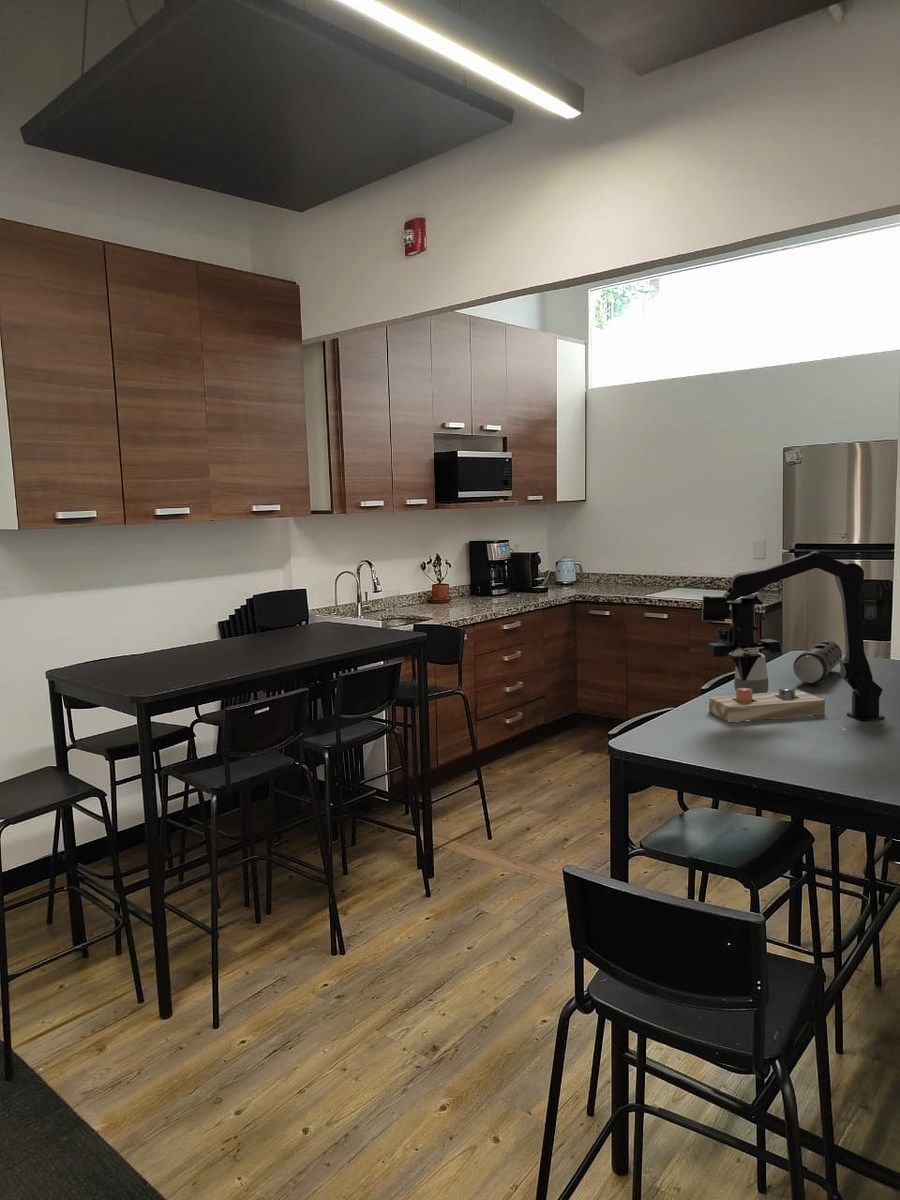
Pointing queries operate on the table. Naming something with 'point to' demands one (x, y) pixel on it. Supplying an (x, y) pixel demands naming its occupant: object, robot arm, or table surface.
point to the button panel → (766, 706)
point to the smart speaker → (754, 677)
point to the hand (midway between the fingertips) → (743, 680)
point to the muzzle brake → (817, 662)
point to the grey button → (786, 693)
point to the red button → (743, 695)
